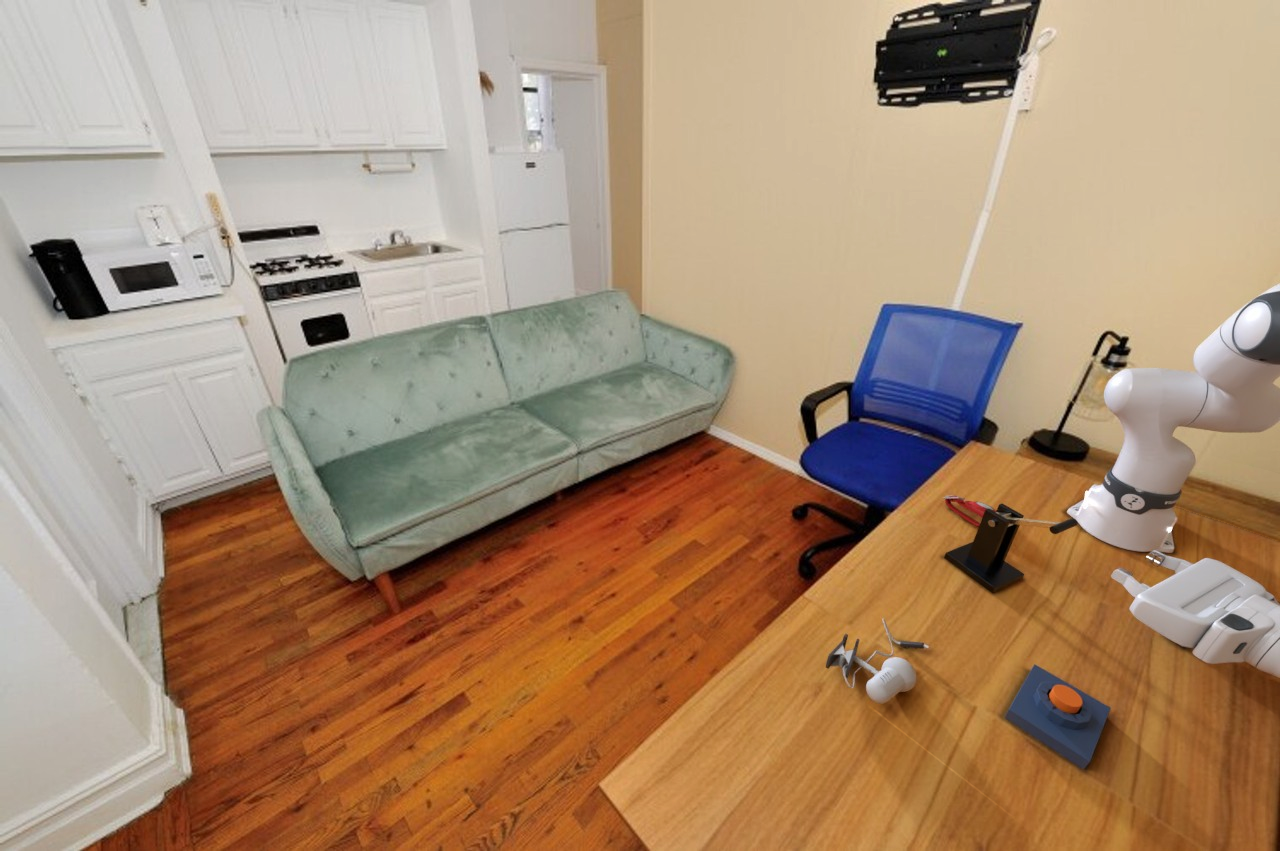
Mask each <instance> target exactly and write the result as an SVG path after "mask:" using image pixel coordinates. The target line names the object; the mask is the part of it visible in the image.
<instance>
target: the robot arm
mask: <svg viewBox="0 0 1280 851" xmlns="http://www.w3.org/2000/svg"><path fill="white" fill-rule="evenodd" d="M1192 362H1193V363H1192V364H1193V367H1194V368H1195V370H1196V371H1191V370H1181V369H1173V368H1164V367H1133V368H1132V367H1130V368H1124V369H1121V370H1120V371H1118V372H1117V373H1115V374H1114V375H1112V377H1111V378H1109V380H1108V382H1107V383H1106V384H1105V387H1104V390H1103V400H1104V403H1105V406H1106V408H1107V409H1108V410H1109V411H1110V412H1111V413H1112V414H1113V415H1114V416H1115V417H1116V418H1117V419H1118V420H1119V422H1120V424H1121V426H1122V429H1123V433H1124V434H1123V435H1124V439H1123V444H1122V446H1121V449H1120V452H1119V454H1118V456H1117V459H1116V460H1115V463H1114V464H1113V467H1111V468H1110V469H1109V470H1108V471H1107V472H1106V474H1105V476H1104V478H1103V481H1102V483H1101V484H1097V483H1094V484H1092V485H1091V487H1089V489H1088V490H1086V491H1085V493H1084V499H1082V500H1080V501H1079V502H1077V503H1076V504H1074V505H1072V506H1070V507H1069V508H1068V509H1067V511H1066V513H1067V514H1068V515H1069V516H1070V518H1074V519H1076V520H1077V522H1078V524H1079V525H1080V527H1081V528H1082V529H1083V530H1084V531H1086V533H1088V534H1089V535H1091V536H1093V537H1095V538H1096V539H1098V540H1100V541H1102V542H1104V543H1106V544H1109V545H1111V546H1114V547H1118V548H1120V549H1123V550H1127V551H1133V552H1142V553H1147V555H1146V556H1145V558H1144V559H1145V561H1146V562H1147V563H1149V564H1152V565H1153V566H1155V567H1156V568H1157V567H1160V566H1161V567H1163V568H1167V569H1168V570H1171V571H1174V574H1173V575H1171V576H1169V577H1168V578H1165V579H1164V580H1162V581H1160V582H1158V583H1157V584H1154V585H1153V586H1149V585H1148V584H1146V583H1144V582H1142V583H1140V582H1139V581H1138V580H1137V579H1135V577H1134V576H1133V575H1134V573H1133V572H1131V571H1129V570H1127V569H1126V568H1124V567H1118V568H1116V569H1114V570H1113V571H1112V573H1111V574H1110V577H1111V579H1112V580H1114V581H1115V582H1117V583H1119V584H1120V585H1122V586H1123V587H1124V589H1125V590H1126V591H1127V592H1128V593H1129V595H1130V596H1131V597H1134V600H1133V601H1132V603H1131V604H1130V606H1129V611H1130V613H1131V614H1132V615H1133V617H1134V618H1135V619H1136V620H1138V621H1139V622H1140V623H1142V624H1144V625H1145V626H1146V627H1149V629H1151V630H1152V631H1155V632H1156V633H1158V634H1159V635H1161V636H1163V637H1164V638H1166V639H1168V640H1169V641H1171V642H1173V643H1175V644H1177V645H1179V646H1180V645H1181V646H1180V647H1182V646H1184V647H1183V648H1191V649H1192V648H1193V650H1192V651H1191V652H1192V654H1193V655H1194V656H1195V657H1196V658H1197V659H1199V660H1201V661H1202V662H1204V663H1206V664H1208V665H1209V664H1210V665H1215V664H1216V665H1217V664H1226V663H1244V662H1245V663H1246V664H1249V665H1251V666H1252V667H1253V668H1255V669H1256V670H1259V671H1261V672H1263V673H1266V674H1269V675H1271V676H1274V677H1276V678H1277V679H1280V603H1279V601H1278V600H1277V599H1276V597H1275V595H1273V594H1272V593H1270V592H1269V591H1268V590H1266V588H1265V587H1264V586H1263V585H1262V584H1261V583H1260V582H1257V581H1256V580H1254V578H1252V577H1250V576H1248V575H1246V574H1245V573H1242V572H1241V571H1239V570H1237V569H1235V568H1233V567H1232V566H1229V565H1228V564H1226V563H1225V562H1224V563H1223V562H1222V561H1220V560H1217V559H1215V558H1209V557H1204V558H1202V559H1201V560H1199V561H1197V562H1195V563H1192V562H1190V561H1188V560H1185V559H1182V558H1178V557H1174V556H1170V555H1167V554H1172V553H1174V550H1175V543H1174V538H1173V537H1174V536H1173V532H1172V530H1173V528H1174V526H1175V525H1176V523H1177V521H1178V517H1177V514H1176V512H1175V510H1174V507H1175V505H1176V504H1177V503H1178V502H1179V500H1180V498H1181V495H1182V493H1183V492H1182V488H1183V486H1184V484H1185V483H1186V481H1187V479H1188V478H1189V477H1190V474H1191V472H1192V471H1193V469H1194V467H1195V466H1196V462H1197V459H1196V454H1195V452H1194V451H1193V449H1192V448H1191V447H1190V446H1188V444H1186V443H1185V442H1183V441H1182V440H1180V439H1178V438H1176V437H1175V436H1173V435H1174V432H1175V430H1176V429H1177V428H1178V427H1183V428H1190V429H1197V430H1203V431H1211V432H1217V433H1231V434H1232V433H1233V434H1234V433H1236V434H1237V433H1239V434H1241V433H1242V434H1243V433H1244V434H1246V433H1247V434H1249V433H1262V432H1265V431H1267V430H1269V429H1271V428H1272V427H1274V426H1275V425H1277V424H1278V423H1279V422H1280V387H1279V386H1277V385H1276V384H1274V382H1275V381H1276V380H1277V379H1278V378H1279V377H1280V283H1278V284H1276V285H1274V286H1272V287H1270V288H1269V289H1267V290H1265V291H1263V292H1262V293H1260V294H1259V295H1257V296H1256V297H1253V299H1251V300H1250V301H1248V302H1247V303H1245V304H1244V305H1243V306H1241V307H1240V308H1239V309H1238V310H1236V311H1235V312H1234V313H1233V314H1232V315H1230V316H1229V317H1228V318H1227V319H1226V320H1225V321H1224V322H1222V323H1221V324H1220V325H1219V326H1218V327H1217V328H1216V329H1215V330H1214V331H1213V332H1211V334H1210V335H1208V337H1206V338H1205V339H1204V340H1203V341H1202V342H1201V343H1200V344H1198V346H1197V347H1196V349H1195V350H1194V353H1193V356H1192ZM1165 553H1166V554H1165Z"/></svg>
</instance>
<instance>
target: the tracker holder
mask: <svg viewBox="0 0 1280 851" xmlns="http://www.w3.org/2000/svg"><path fill="white" fill-rule="evenodd" d="M942 499H944V502H945V505H946V506H947V507H948V508H949V509H950V510H951V511H952V512H954V513H955V514H957V515H958V516H960V517H961V518H963V519H965V520H966V521H967V522H969V523H971V524H972V525H974V526H977V527H979V525H980V522H979V521H977V520H975V519H974V518H973V517H971V516H969V515H968V514H966V513H965V512H964V511H962V510H960V509H958V508H957V507H956V506H955V505H954V504H953V503H957V505H959V506H961V507H963V508H965V509H966V510H968V511H969V512H972V513H974V514H975V515H977V516H979V517H980V518H982V517H983V515H984V512H985V510H986V509H988V508H989V509H991V510H993V511H994V512H996V511H997V509H995V508H993V507H992V506H991V505H989V504H986V503H984V502H981V501H972V500H966V499H965V497H961V496H958V495H952V494H951V495H945V496H943V497H942ZM964 500H965V501H964Z"/></svg>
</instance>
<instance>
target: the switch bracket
mask: <svg viewBox="0 0 1280 851" xmlns="http://www.w3.org/2000/svg"><path fill="white" fill-rule="evenodd" d="M996 512H1004V513H1011V515H1012V518H1022V519H1024V518H1025V515H1024V514H1022V513H1020V512H1019V511H1017V510H1015V509H1014V508H1011V507H1010V506H1008V505H1006V504H1004V503H999V504H998V506H997V508H996ZM996 512H994V511H993V510H991V509H989V508H988V509H986V510H985V512H984V515H983V517H981V520H980V522H979V523H980V525H979V526H978V528H977V529H976V533H975V536H974V539H973V541H972V542H968V543H966V544H964V545H962V546H959V547H956V548H954V549H952V550H949V551H947V552H945V554H944V556H943V558H944V559H945V560H947V561H948V562H949V563H950V564H952V565H953V566H954V567H955V568H957V569H959V570H960V571H961V572H962V573H964V574H965V575H967V576H968V577H970V578H971V579H973V580H974V581H975V582H977V583H978V584H979V585H981V586H982V587H983V588H985V589H986V590H988V591H989V592H991V593H992V594H993V593H996V592H998V591H1000V590H1002V589H1005V588H1006V587H1009V586H1012V585H1013V584H1016V583H1018V582H1020V581H1022V580H1023V579H1024V577H1025V575H1026V574H1025V573H1024V572H1022V571H1021V570H1020V569H1018V568H1017V567H1015V566H1014V565H1012V564H1011V563H1009V562H1007V561H1006V559H1007V556H1008V554H1009V552H1010V549H1011V547H1012V544H1013V542H1014V541H1015V537H1016V536H1017V533H1018V530H1019V528H1020V526H1021V525H1016V524H1014V525H1012V526H1009V523H1010V520H1008V519H1006V518H1004V517H1003V516H1001V515H999V514H998V513H996ZM1008 526H1009V527H1008Z"/></svg>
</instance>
